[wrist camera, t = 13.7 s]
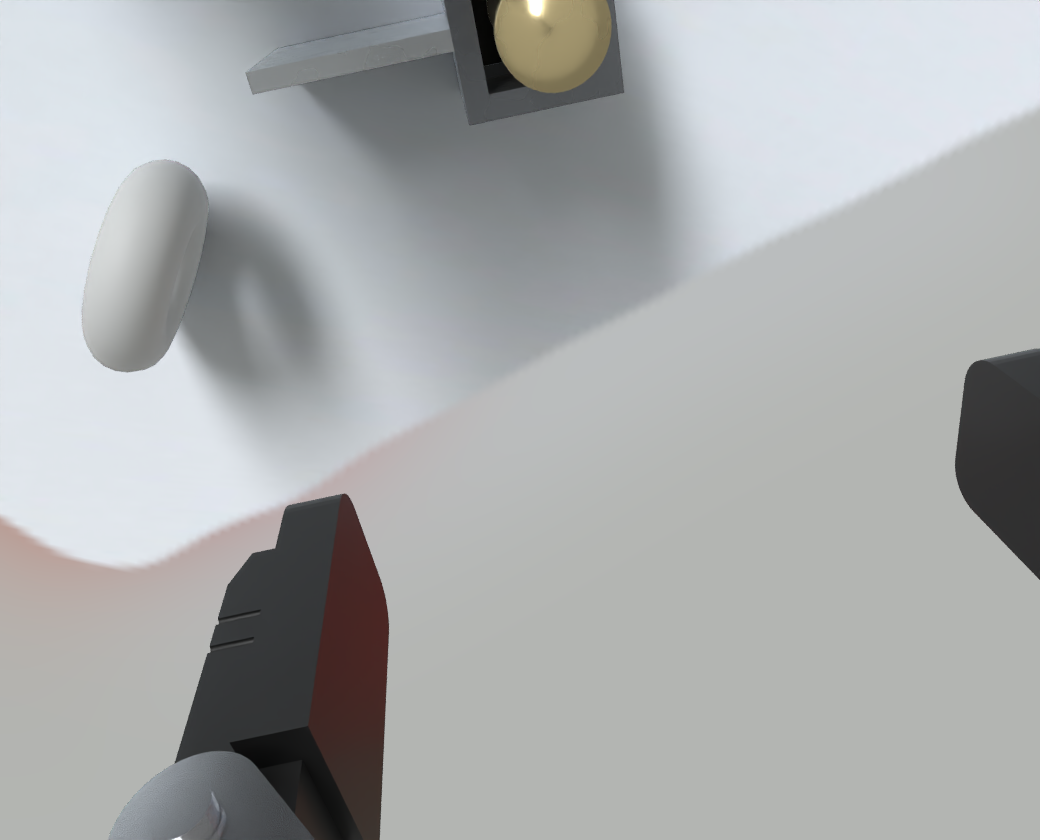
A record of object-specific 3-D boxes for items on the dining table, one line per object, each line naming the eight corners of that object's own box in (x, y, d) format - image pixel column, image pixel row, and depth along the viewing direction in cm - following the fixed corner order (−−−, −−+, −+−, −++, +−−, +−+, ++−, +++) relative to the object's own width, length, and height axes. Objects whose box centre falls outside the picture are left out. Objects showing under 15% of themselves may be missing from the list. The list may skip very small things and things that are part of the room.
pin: (485, 59, 39) (507, 103, 29) (467, -34, 37) (485, -23, 27) (566, 42, 39) (617, 80, 29) (553, -52, 37) (603, -48, 27)
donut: (191, 328, 45) (136, 421, 36) (124, 308, 44) (52, 398, 35) (232, 153, 40) (182, 211, 32) (160, 127, 39) (87, 179, 31)
